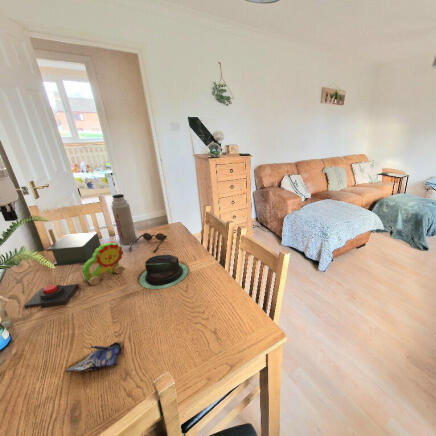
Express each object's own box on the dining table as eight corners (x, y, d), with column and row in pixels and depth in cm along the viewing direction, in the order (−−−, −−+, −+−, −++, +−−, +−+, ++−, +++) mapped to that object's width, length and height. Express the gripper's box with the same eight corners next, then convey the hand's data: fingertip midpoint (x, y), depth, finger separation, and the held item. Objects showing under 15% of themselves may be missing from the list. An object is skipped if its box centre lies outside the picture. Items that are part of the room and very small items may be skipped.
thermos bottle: (124, 246, 132) (112, 198, 122) (117, 241, 137) (106, 195, 126) (139, 241, 139) (129, 195, 128) (132, 237, 143) (122, 192, 132)
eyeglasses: (167, 240, 141) (166, 232, 139) (155, 253, 128) (154, 244, 126) (142, 239, 140) (140, 232, 139) (127, 252, 127) (125, 244, 125)
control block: (26, 310, 87) (22, 301, 86) (43, 292, 96) (39, 284, 94) (66, 304, 91) (63, 296, 89) (79, 288, 100) (76, 280, 98)
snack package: (92, 345, 76) (58, 381, 65) (90, 330, 73) (55, 365, 63) (130, 351, 77) (104, 388, 66) (130, 336, 74) (103, 372, 64)
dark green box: (52, 266, 112) (45, 249, 109) (70, 249, 126) (64, 234, 123) (87, 262, 117) (82, 246, 113) (101, 246, 131) (97, 232, 127)
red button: (42, 294, 90) (41, 291, 89) (48, 288, 93) (46, 285, 92) (54, 293, 91) (52, 289, 90) (59, 287, 94) (58, 283, 93)
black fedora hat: (134, 292, 97) (138, 268, 114) (180, 299, 108) (178, 276, 124) (149, 261, 96) (151, 240, 112) (194, 271, 106) (190, 251, 123)
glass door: (56, 255, 119) (47, 230, 114) (64, 248, 125) (56, 224, 120) (64, 254, 120) (55, 229, 115) (72, 247, 126) (64, 223, 121)
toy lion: (91, 287, 100) (81, 256, 95) (84, 283, 102) (74, 252, 97) (129, 268, 114) (122, 240, 108) (122, 265, 116) (115, 237, 110)
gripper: (-5, 170, 93) (13, 214, 100) (-41, 179, 80) (-17, 228, 87) (19, 170, 95) (36, 213, 102) (-11, 178, 82) (10, 227, 89)
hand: (11, 220), depth 95 cm, fingers closed
